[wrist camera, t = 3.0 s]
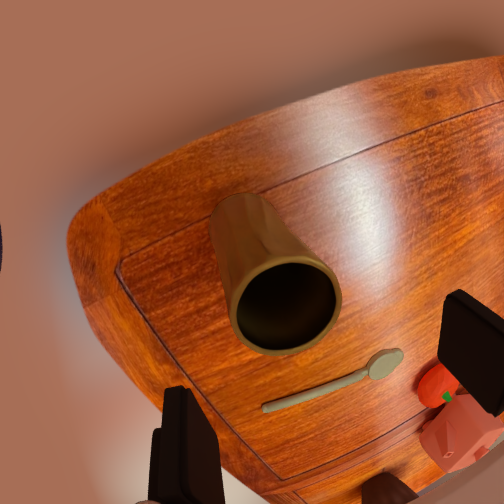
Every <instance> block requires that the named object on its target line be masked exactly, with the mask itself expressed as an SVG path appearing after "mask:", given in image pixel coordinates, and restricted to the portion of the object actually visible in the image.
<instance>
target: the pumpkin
mask: <svg viewBox="0 0 504 504" xmlns="http://www.w3.org/2000/svg"><path fill="white" fill-rule="evenodd" d="M459 383H460V382H459V381H458V380H457V379H456V378H455V377H454V376H453V375H452V374H451V373H450V372H449V371H448V370H447V368H446V367H445V366H444V365H443V364H442V363H440V364H438V365H436V366H435V367H433V368H432V369H430V370H429V371H428V372H427V373H426V374H425V375H424V376H423V378H422V379H421V381H420V382H419V385H418V397H419V401H420V402H421V403H422V404H423V405H424V406H426V407H430V408H437V407H438V406H440V405H441V404H443V403H444V402H446V401H447V402H448V403H449V402H450V401H451V400H452V398H451V396H452V395H453V394H454V392H455V391H456V390H457V388H458V385H459Z"/></svg>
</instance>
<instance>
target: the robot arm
mask: <svg viewBox="0 0 504 504" xmlns="http://www.w3.org/2000/svg"><path fill="white" fill-rule="evenodd" d="M437 356H438V359H439V361H440V362H441V363H442V364H443V365H444V366H445V367H446V368H447V370H448V371H449V372H450V373H451V374H452V375H453V376H454V377H455V378H456V379H457V380H458V381H459V382H460V383H461V385H462V386H463V387H464V388H465V389H466V390H467V391H468V392H469V393H470V394H471V396H472V397H473V398H474V399H475V400H476V401H477V402H478V403H479V404H480V406H481V407H482V408H483V409H484V410H485V411H486V412H487V413H489V414H492V415H493V416H494V417H495V418H496V417H497V416H498V415H500V414H501V413H502V412H503V411H504V319H503V318H501V317H500V316H499V315H497V314H496V313H494V312H493V311H492V310H490V309H489V308H488V307H486V306H485V305H483V304H482V303H481V302H479V301H478V300H476V299H475V298H473V297H472V296H471V295H469V294H468V293H466V292H465V291H463V290H461V289H458V290H456V291H454V292H452V293H450V294H448V295H447V296H446V299H445V301H444V304H443V314H442V323H441V331H440V338H439V345H438V352H437ZM136 504H225V496H224V488H223V480H222V472H221V462H220V453H219V443H218V438H217V435H216V433H215V431H214V430H213V428H212V426H211V425H210V423H209V421H208V419H207V418H206V416H205V414H204V413H203V411H202V409H201V407H200V406H199V404H198V402H197V400H196V398H195V397H194V395H193V393H192V391H191V389H190V388H187V389H185V388H184V386H182V385H180V386H175V387H171V388H166V389H165V392H164V402H163V413H162V425H161V428H156V429H155V430H154V431H153V435H152V445H151V457H150V470H149V485H148V500H145V501H140V502H138V503H136ZM407 504H504V440H503V441H502V442H501V443H500V444H498V445H497V446H496V447H495V448H494V449H492V450H491V451H489V452H488V453H487V454H486V455H484V456H483V457H482V458H480V459H479V460H477V461H476V462H475V463H473V464H472V465H470V466H469V467H468V468H466V469H465V470H463V471H462V472H460V473H459V474H457V475H456V476H454V477H453V478H451V479H449V480H448V481H446V482H444V483H443V484H441V485H440V486H438V487H436V488H435V489H433V490H431V491H429V492H427V493H426V494H424V495H422V496H420V497H418V498H417V499H415V500H413V501H411V502H409V503H407Z"/></svg>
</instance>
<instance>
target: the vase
mask: <svg viewBox="0 0 504 504" xmlns="http://www.w3.org/2000/svg"><path fill="white" fill-rule="evenodd" d="M209 236H210V240H211V243H212V244H213V247H214V250H215V254H216V258H217V262H218V267H219V271H220V275H221V280H222V284H223V288H224V292H225V298H226V303H227V309H228V315H229V319H230V323H231V326H232V328H233V330H234V332H235V334H236V336H237V337H238V338H239V340H240V341H241V342H242V343H243V344H245V345H246V346H247V347H249V348H250V349H252V350H253V351H255V352H258V353H260V354H264V355H270V356H281V355H289V354H294V353H298V352H301V351H303V350H306V349H308V348H310V347H312V346H314V345H315V344H317V343H318V342H319V341H320V340H322V339H323V338H324V336H325V335H326V334H327V333H328V332H329V331H330V330H331V329H332V327H333V326H334V325H335V323H336V321H337V319H338V317H339V314H340V311H341V306H342V293H341V289H340V285H339V282H338V280H337V277H336V275H335V273H334V272H333V270H332V269H331V268H330V267H329V266H328V265H327V264H326V263H325V262H324V261H323V260H321V259H320V258H319V257H318V256H317V255H316V254H315V253H314V252H313V251H312V250H311V249H310V248H309V247H308V246H307V245H306V244H305V243H304V242H303V241H302V240H301V239H300V238H299V237H298V236H297V235H296V234H295V233H293V232H292V231H291V230H290V229H289V228H288V227H287V225H286V224H285V223H284V222H283V220H282V219H281V218H280V216H279V215H278V213H277V212H276V210H275V208H274V207H273V206H272V205H271V204H270V203H269V202H268V201H267V200H266V199H265V198H263V197H261V196H259V195H256V194H251V193H238V194H235V195H232V196H230V197H228V198H226V199H224V200H223V201H221V202H220V203H219V204H218V205H217V207H216V208H215V209H214V211H213V213H212V215H211V217H210V221H209Z"/></svg>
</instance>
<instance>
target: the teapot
mask: <svg viewBox="0 0 504 504" xmlns="http://www.w3.org/2000/svg"><path fill="white" fill-rule="evenodd" d="M451 398H452V400H451V401H450V402H449V403H448V402H447V401H446V402H444V403H445V405H446V406H445V407H444V408H443V410H442V411H441V412H440V413H439V414H438V415H437V417H436V418H435V419H434V420H433V419H432V420H429V421H428V422H426V423H425V424H424V425H423V427H422V429H423V430H424V431H423V432H422V433H421V435H420V436H419V440H420V443H421V445H422V447H423V448H424V450H425V451H426V452H427V453H428V455H429V456H430V457H431V458H432V459H433V460H434V461H435V462H436V463H437V465H438V466H439V467H440V468H441V469H442V470H444V471H445V472H446V473H449V472H453V471H456V470H460V469H462V468H465V467H467V466H469V465H471V464H473V463H474V462H475V461H477V460H479V459H480V458H482V457H483V456H484V455H486V454H487V453H488V452H489V451H490V450H489V449H488V448H489V447H490V446H491V445H492V444H493V443H494V442H495V441H496V440H497V438H498V437H499V436H500V435H501V433H502V432H503V431H504V424H503V422H502V421H501V419H500V418H499V416H497V417H496V418H495V417H494V416H493V415H492V414H489V413H487V412H486V411H485V410H484V409H483V408H482V407H481V406H480V404H479V403H478V402H477V401H476V400H475V399H474V398H473V397H472V396H471V394H465V395H457V396H456V393H454V394H453V395H452V396H451Z"/></svg>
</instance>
